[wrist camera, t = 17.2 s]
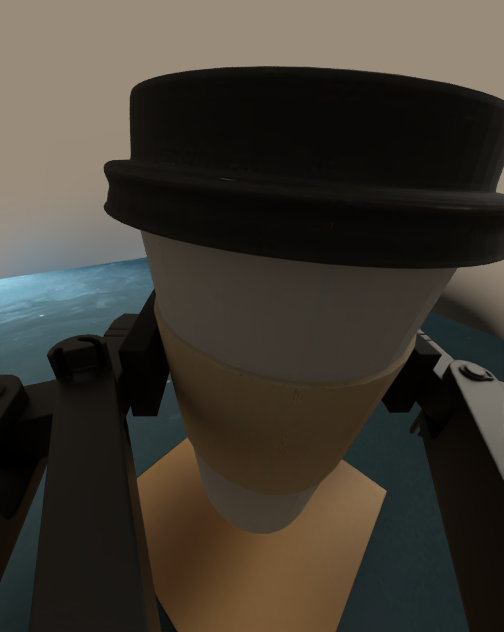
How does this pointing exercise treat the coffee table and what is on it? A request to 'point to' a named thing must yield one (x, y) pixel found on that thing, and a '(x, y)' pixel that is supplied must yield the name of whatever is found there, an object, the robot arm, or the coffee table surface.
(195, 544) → the cork mat
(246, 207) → the coffee cup
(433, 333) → the coffee table surface
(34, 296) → the coffee table surface
